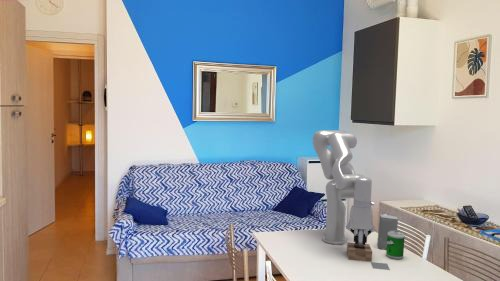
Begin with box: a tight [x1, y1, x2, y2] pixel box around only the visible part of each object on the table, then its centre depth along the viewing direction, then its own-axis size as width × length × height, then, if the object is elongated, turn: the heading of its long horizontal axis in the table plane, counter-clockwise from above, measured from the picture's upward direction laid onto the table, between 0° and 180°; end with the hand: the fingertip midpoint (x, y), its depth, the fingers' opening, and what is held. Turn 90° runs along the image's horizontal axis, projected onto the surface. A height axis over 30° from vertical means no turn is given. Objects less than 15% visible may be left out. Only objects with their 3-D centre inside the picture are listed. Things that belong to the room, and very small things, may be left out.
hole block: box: [346, 241, 373, 263], centre depth 180 cm, size 10×10×5 cm
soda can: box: [385, 230, 406, 260], centre depth 181 cm, size 8×8×12 cm
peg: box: [356, 229, 364, 249], centre depth 179 cm, size 3×3×10 cm
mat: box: [370, 261, 391, 271], centre depth 170 cm, size 7×7×1 cm
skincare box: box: [376, 213, 399, 250], centre depth 194 cm, size 8×7×16 cm
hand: (360, 243), depth 179 cm, fingers closed on peg, 3 cm apart
